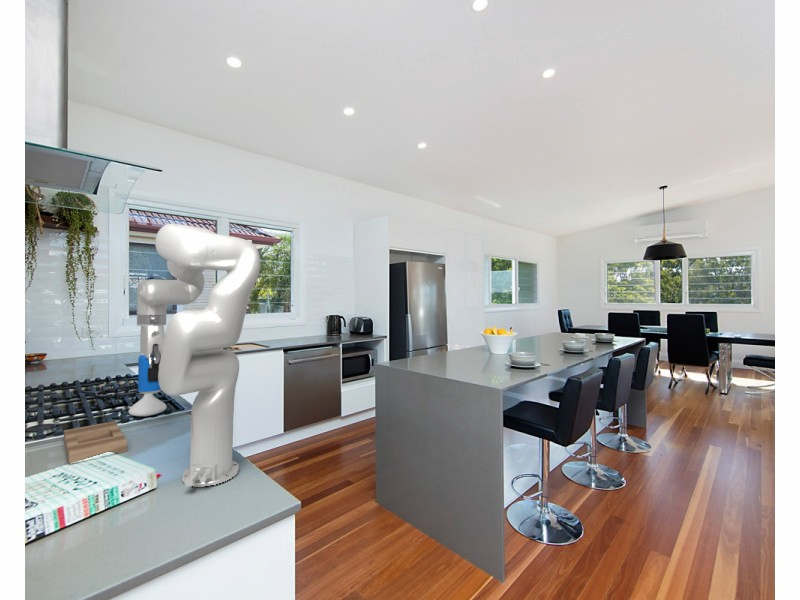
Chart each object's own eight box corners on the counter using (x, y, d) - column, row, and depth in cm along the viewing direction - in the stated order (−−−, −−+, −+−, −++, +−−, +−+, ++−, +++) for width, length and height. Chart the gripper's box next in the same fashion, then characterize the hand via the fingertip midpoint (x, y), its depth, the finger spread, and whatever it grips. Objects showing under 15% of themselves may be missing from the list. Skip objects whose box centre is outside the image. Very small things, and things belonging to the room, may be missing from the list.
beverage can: (154, 395, 109) (154, 355, 109) (132, 394, 109) (133, 354, 109) (168, 389, 116) (168, 351, 116) (148, 388, 116) (148, 351, 116)
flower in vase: (166, 416, 131) (167, 346, 130) (126, 421, 125) (128, 348, 124) (166, 405, 142) (168, 341, 141) (130, 409, 136) (131, 342, 135)
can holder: (126, 451, 103) (126, 441, 103) (69, 465, 94) (69, 453, 94) (114, 430, 117) (114, 421, 117) (63, 440, 108) (63, 430, 108)
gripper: (173, 322, 109) (172, 382, 109) (159, 318, 121) (158, 372, 121) (143, 323, 104) (142, 386, 104) (131, 319, 116) (130, 375, 116)
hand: (151, 378), depth 113 cm, fingers closed on beverage can, 6 cm apart
